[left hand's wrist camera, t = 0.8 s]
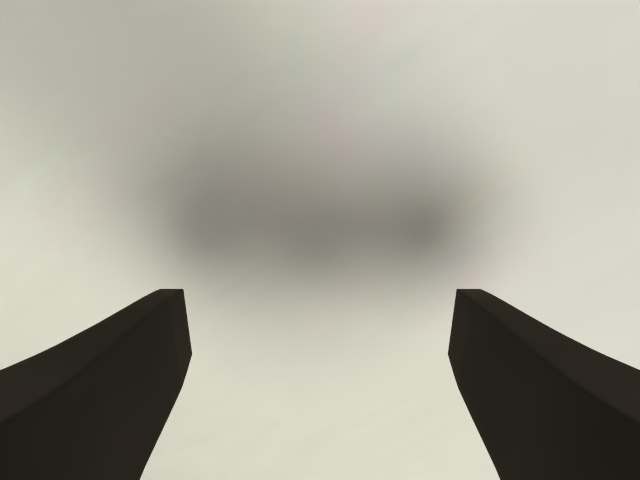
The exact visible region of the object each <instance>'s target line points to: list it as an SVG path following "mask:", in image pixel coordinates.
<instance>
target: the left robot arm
mask: <svg viewBox="0 0 640 480" xmlns="http://www.w3.org/2000/svg"><path fill="white" fill-rule="evenodd" d="M191 356H192V350H191V342H190V335H189V328H188V320H187V313H186V306H185V298H184V291H183V289H159V290H157V291H154V292H152V293H150V294H148V295H147V296H145V297H143V298H141V299H139V300H138V301H136V302H134V303H132V304H131V305H129V306H127V307H125V308H124V309H122V310H120V311H118V312H117V313H115V314H113V315H111V316H110V317H108V318H106V319H104V320H103V321H101V322H99V323H97V324H96V325H94V326H92V327H90V328H88V329H86V330H84V331H82V332H80V333H79V334H77V335H75V336H73V337H71V338H69V339H67V340H65V341H63V342H62V343H60V344H58V345H56V346H54V347H52V348H50V349H47V350H45V351H43V352H41V353H39V354H37V355H35V356H32V357H30V358H28V359H25V360H23V361H21V362H19V363H16V364H14V365H12V366H9V367H7V368H4V369H2V370H0V480H140V477H141V475H142V473H143V470H144V468H145V466H146V464H147V461H148V459H149V457H150V455H151V453H152V451H153V449H154V447H155V444H156V442H157V440H158V438H159V436H160V434H161V432H162V430H163V427H164V425H165V423H166V421H167V419H168V417H169V415H170V412H171V410H172V408H173V406H174V404H175V402H176V399H177V397H178V395H179V393H180V391H181V388H182V385H183V382H184V379H185V376H186V373H187V370H188V366H189V363H190V359H191ZM448 356H449V359H450V363H451V366H452V370H453V373H454V376H455V379H456V382H457V385H458V388H459V391H460V393H461V395H462V397H463V399H464V402H465V404H466V406H467V408H468V410H469V412H470V415H471V417H472V419H473V421H474V423H475V425H476V427H477V430H478V432H479V434H480V436H481V438H482V440H483V442H484V444H485V447H486V449H487V451H488V453H489V455H490V457H491V459H492V461H493V464H494V466H495V468H496V470H497V473H498V475H499V477H500V480H640V370H638V369H636V368H634V367H631V366H629V365H627V364H624V363H622V362H620V361H617V360H615V359H613V358H610V357H608V356H606V355H604V354H601V353H599V352H597V351H595V350H593V349H591V348H589V347H587V346H585V345H583V344H581V343H579V342H577V341H575V340H573V339H571V338H569V337H567V336H565V335H563V334H561V333H559V332H558V331H556V330H554V329H552V328H550V327H548V326H547V325H545V324H543V323H541V322H539V321H538V320H536V319H534V318H532V317H531V316H529V315H527V314H525V313H524V312H522V311H520V310H518V309H517V308H515V307H513V306H511V305H510V304H508V303H506V302H505V301H503V300H501V299H499V298H497V297H496V296H494V295H492V294H490V293H488V292H486V291H483V290H481V289H457V291H456V298H455V306H454V313H453V320H452V328H451V335H450V342H449V350H448Z"/></svg>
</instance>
